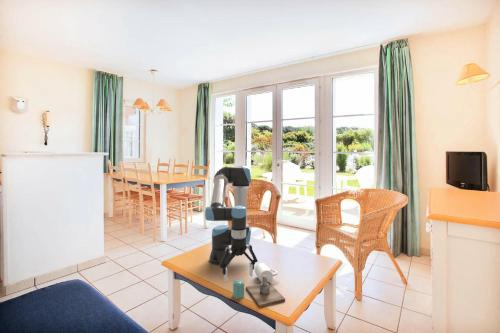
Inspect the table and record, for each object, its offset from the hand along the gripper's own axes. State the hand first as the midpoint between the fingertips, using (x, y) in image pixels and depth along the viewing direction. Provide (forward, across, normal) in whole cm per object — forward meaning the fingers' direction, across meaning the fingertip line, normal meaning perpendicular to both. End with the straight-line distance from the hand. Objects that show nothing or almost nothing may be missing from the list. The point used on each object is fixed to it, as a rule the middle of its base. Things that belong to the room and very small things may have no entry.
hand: (238, 278), depth 129 cm
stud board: (+9, +13, -4) cm, 17 cm away
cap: (+10, 0, 0) cm, 10 cm away
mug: (+10, +21, +10) cm, 25 cm away
